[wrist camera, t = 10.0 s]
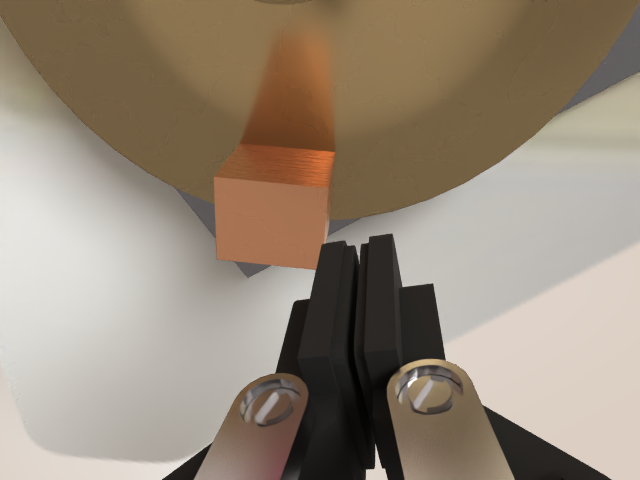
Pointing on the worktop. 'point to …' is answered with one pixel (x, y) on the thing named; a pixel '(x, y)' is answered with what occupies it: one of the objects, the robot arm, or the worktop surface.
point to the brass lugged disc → (313, 97)
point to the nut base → (621, 62)
